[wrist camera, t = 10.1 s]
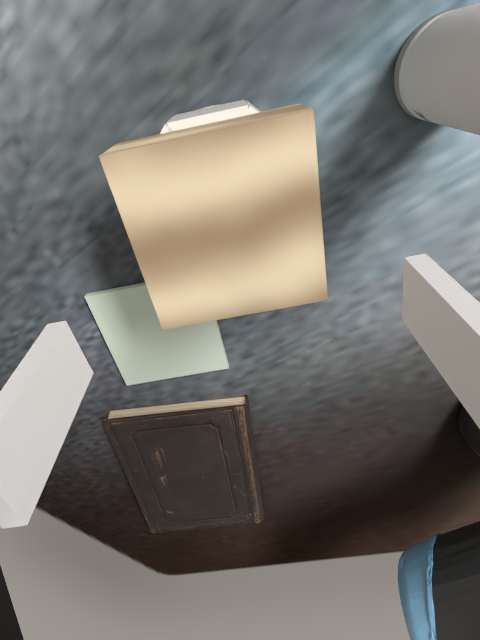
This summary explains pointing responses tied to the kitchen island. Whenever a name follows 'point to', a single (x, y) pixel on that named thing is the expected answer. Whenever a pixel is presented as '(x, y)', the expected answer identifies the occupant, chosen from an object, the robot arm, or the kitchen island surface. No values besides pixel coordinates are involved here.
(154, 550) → the kitchen island surface
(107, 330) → the mat
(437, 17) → the travel mug
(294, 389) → the kitchen island surface
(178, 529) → the hardcover book
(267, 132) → the tan box
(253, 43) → the kitchen island surface
